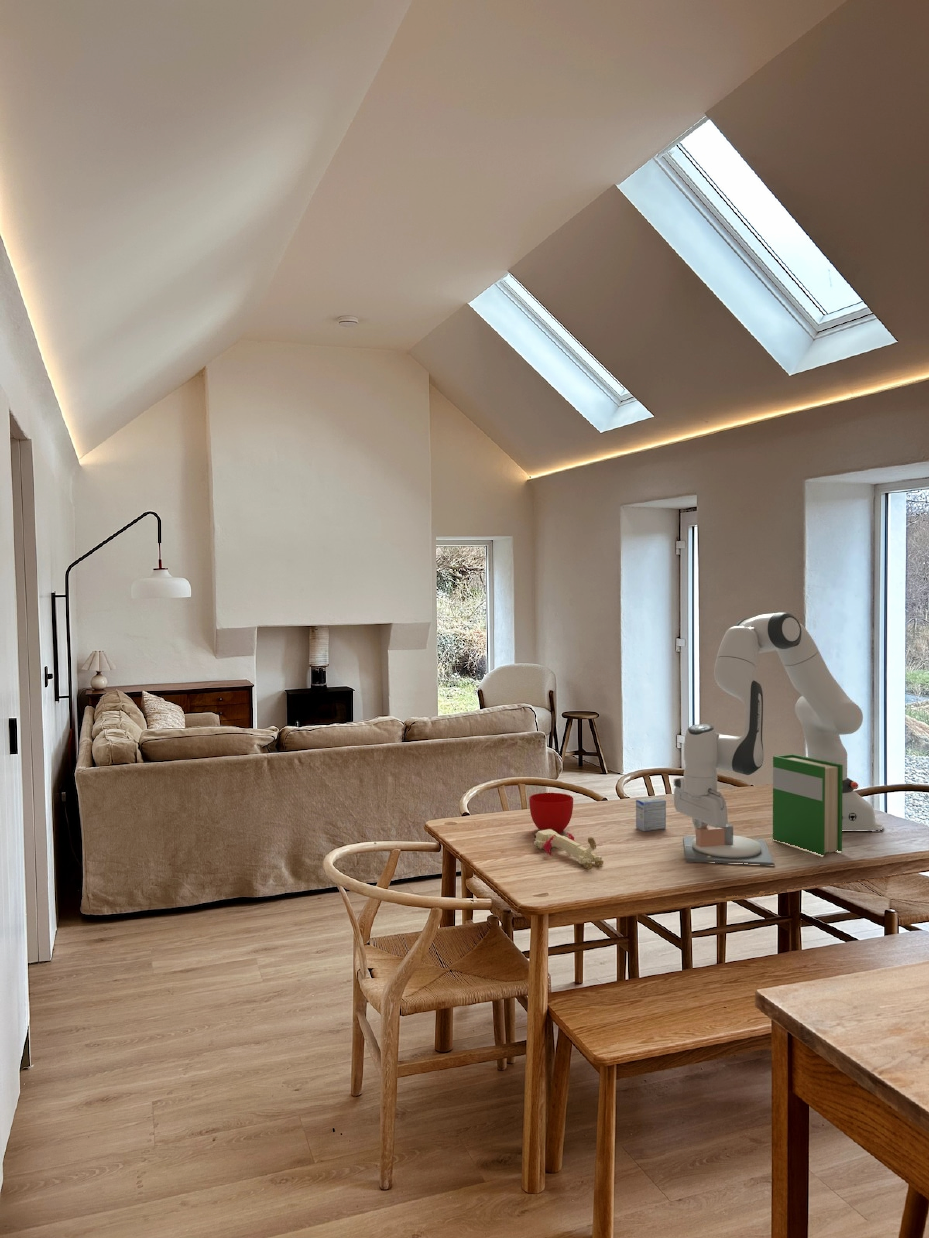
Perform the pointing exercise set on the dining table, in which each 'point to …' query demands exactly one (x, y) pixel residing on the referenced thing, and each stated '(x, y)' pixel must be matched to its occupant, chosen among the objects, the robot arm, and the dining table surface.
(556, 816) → the ceramic cup
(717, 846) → the dial
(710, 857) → the dial base plate
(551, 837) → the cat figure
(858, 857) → the dining table surface
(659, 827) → the medicine box
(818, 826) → the hardback book
